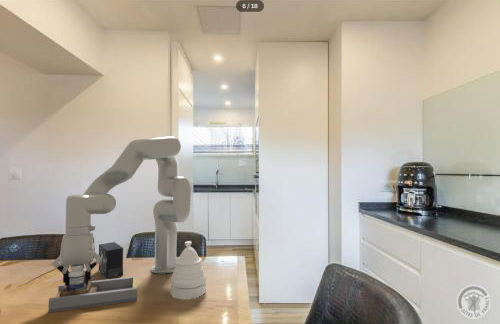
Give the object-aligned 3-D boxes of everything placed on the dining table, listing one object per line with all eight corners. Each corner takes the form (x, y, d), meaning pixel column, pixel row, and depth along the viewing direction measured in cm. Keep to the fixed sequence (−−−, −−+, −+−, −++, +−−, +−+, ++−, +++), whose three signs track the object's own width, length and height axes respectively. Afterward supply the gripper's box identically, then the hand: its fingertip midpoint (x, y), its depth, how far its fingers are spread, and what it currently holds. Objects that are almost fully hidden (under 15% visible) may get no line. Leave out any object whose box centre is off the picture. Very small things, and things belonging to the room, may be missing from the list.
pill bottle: (72, 290, 104) (73, 262, 104) (88, 289, 104) (89, 262, 105) (64, 296, 99) (65, 267, 99) (81, 296, 99) (81, 267, 99)
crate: (97, 290, 108) (97, 279, 108) (93, 300, 99) (94, 289, 99) (59, 294, 104) (59, 284, 104) (52, 306, 95) (52, 294, 95)
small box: (97, 271, 131) (98, 244, 132) (114, 267, 136) (114, 241, 136) (106, 279, 121) (106, 250, 122) (123, 275, 126) (124, 247, 126)
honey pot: (168, 288, 113) (169, 240, 114) (201, 283, 118) (201, 238, 119) (173, 301, 101) (174, 249, 102) (209, 295, 106) (210, 245, 107)
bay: (136, 286, 114) (137, 276, 114) (136, 300, 102) (136, 288, 102) (59, 296, 105) (59, 284, 105) (48, 312, 93) (48, 299, 93)
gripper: (106, 227, 109) (105, 276, 108) (52, 230, 102) (51, 282, 102) (104, 231, 102) (103, 284, 101) (45, 234, 95) (44, 291, 95)
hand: (77, 282), depth 102 cm, fingers closed on pill bottle, 5 cm apart
